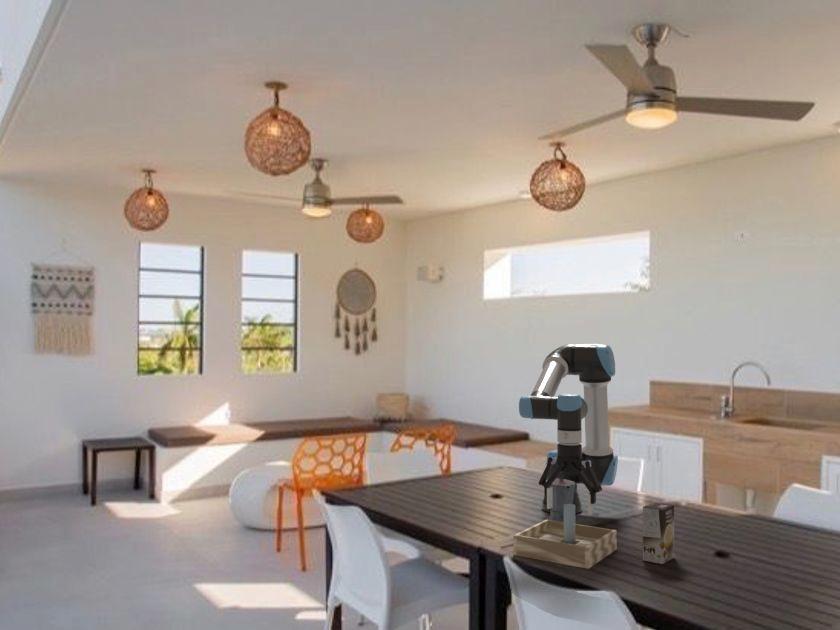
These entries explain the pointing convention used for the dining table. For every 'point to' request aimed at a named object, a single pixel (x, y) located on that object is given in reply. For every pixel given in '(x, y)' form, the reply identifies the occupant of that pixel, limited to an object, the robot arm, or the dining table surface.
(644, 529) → the coffee box
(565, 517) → the peg
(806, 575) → the dining table surface
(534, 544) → the box
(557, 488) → the moka pot
